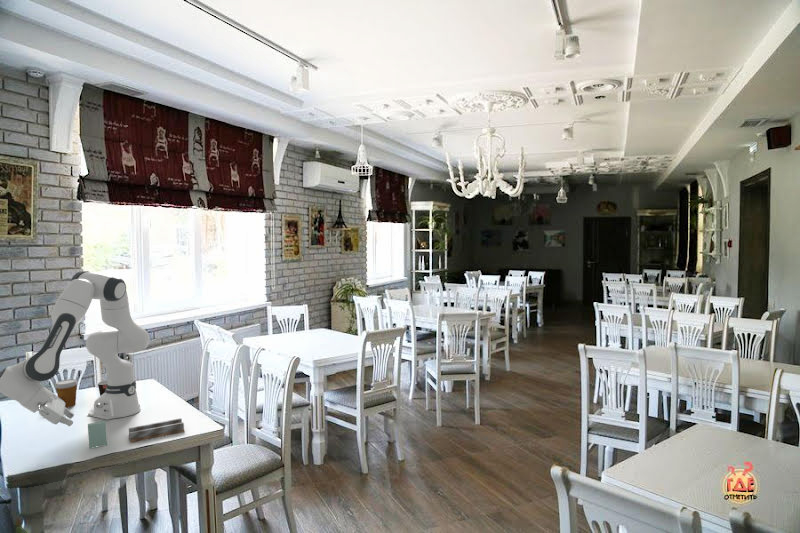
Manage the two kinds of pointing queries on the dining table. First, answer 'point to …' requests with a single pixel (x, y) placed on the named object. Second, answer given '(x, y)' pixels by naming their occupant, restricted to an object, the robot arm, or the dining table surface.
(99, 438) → the green rectangular box
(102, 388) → the coffee mug
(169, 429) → the rail
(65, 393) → the disposable coffee cup
